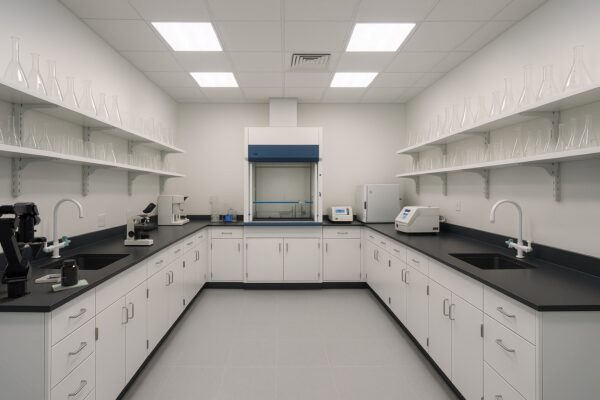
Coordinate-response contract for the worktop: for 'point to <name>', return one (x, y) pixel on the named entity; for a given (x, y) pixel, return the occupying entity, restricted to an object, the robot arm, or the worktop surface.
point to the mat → (59, 287)
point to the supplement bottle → (69, 273)
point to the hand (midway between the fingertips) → (27, 260)
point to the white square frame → (44, 279)
